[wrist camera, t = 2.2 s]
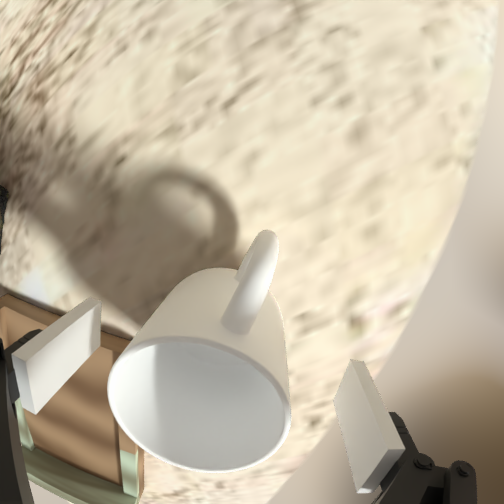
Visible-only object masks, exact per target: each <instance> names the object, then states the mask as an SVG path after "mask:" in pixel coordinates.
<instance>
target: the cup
mask: <svg viewBox="0 0 504 504" xmlns="http://www.w3.org/2000/svg"><path fill="white" fill-rule="evenodd" d="M278 251H279V241H278V237H277V235H276V234H275V233H274V232H273V231H271V230H263V231H261V232H260V233H259V234H258V235H257V236H256V238H255V239H254V241H253V243H252V244H251V246H250V248H249V250H248V252H247V254H246V256H245V257H244V259H243V261H242V263H241V265H240V267H239V269H238V270H235V269H230V268H209V269H204V270H201V271H198V272H196V273H193V274H192V275H190V276H188V277H186V278H185V279H183V280H182V281H181V282H180V283H179V284H178V285H176V287H175V288H174V289H173V290H172V291H171V292H170V293H169V294H168V296H167V297H166V298H165V299H164V301H163V302H162V303H161V304H160V306H159V307H158V308H157V309H156V311H155V312H154V313H153V314H152V316H151V317H150V318H149V319H148V321H147V322H146V323H145V324H144V326H143V327H142V328H141V329H140V331H139V332H138V333H137V334H136V336H135V337H134V338H133V339H132V341H131V342H130V343H129V345H128V346H127V347H126V348H125V350H124V351H123V352H122V354H121V355H120V356H119V357H118V359H117V360H116V362H115V363H114V365H113V366H112V369H111V371H110V374H109V377H108V383H107V393H108V400H109V404H110V408H111V410H112V413H113V415H114V417H115V419H116V421H117V422H118V424H119V425H120V427H121V428H122V429H123V431H124V432H125V433H126V434H127V435H128V436H129V438H130V439H131V440H133V441H134V442H135V443H136V444H137V445H138V446H139V447H141V448H142V449H143V450H145V451H146V452H148V453H149V454H151V455H153V456H154V457H156V458H158V459H160V460H162V461H164V462H166V463H169V464H171V465H174V466H177V467H180V468H183V469H187V470H192V471H198V472H206V473H225V472H233V471H238V470H242V469H246V468H249V467H252V466H254V465H256V464H259V463H261V462H262V461H264V460H266V459H267V458H269V457H270V456H271V455H272V454H274V453H275V452H276V451H277V450H278V449H279V447H280V446H281V445H282V443H283V442H284V441H285V439H286V437H287V435H288V432H289V429H290V425H291V404H290V392H289V379H288V367H287V356H286V344H285V333H284V323H283V318H282V313H281V310H280V307H279V305H278V303H277V301H276V299H275V297H274V296H273V294H272V293H271V292H270V290H269V287H270V284H271V281H272V278H273V274H274V271H275V267H276V263H277V258H278Z"/></svg>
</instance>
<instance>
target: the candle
mask: <svg viewBox="0 0 504 504" xmlns="http://www.w3.org/2000/svg"><path fill="white" fill-rule="evenodd" d="M7 200H8V191H7V189H5V188H4V187H2V186H1V185H0V254H1V239H2V229H3V224H4V213H5V209H6V203H7Z"/></svg>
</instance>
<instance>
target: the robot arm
mask: <svg viewBox="0 0 504 504" xmlns="http://www.w3.org/2000/svg"><path fill="white" fill-rule="evenodd" d="M101 305H102V301H100V300H97V299H94V298H91V297H89V298H88V299H86V300H85V301H83V302H82V303H80V304H79V305H78V306H76V307H75V308H73V309H72V310H71V311H69V312H68V313H66V314H65V315H64V316H62V317H61V318H59V319H58V320H57V321H55V322H54V323H52V324H51V325H50V326H48V327H47V328H46V329H44V330H41V329H36V330H33V331H30V332H28V333H27V334H25V335H24V336H23V338H22V337H21V338H20V339H18V341H16V342H14V343H13V344H11V345H10V346H9V347H7V348H6V349H5V350H4V346H3V341H2V339H1V338H0V504H34V501H33V496H32V493H31V489H30V485H29V481H28V476H27V472H26V467H25V462H24V457H23V452H22V446H21V440H20V434H19V426H18V419H17V410H16V405H15V401H16V400H17V399H18V398H19V397H20V400H21V404H22V407H23V408H24V409H26V410H28V411H30V412H32V413H33V414H35V415H36V414H37V413H38V412H39V411H40V410H41V409H42V408H43V406H44V405H45V404H46V403H47V402H48V401H49V400H50V399H51V398H52V396H53V395H54V394H55V393H56V392H57V391H58V390H59V389H60V388H61V387H62V386H63V385H64V383H65V382H66V381H67V380H68V379H69V378H70V377H71V376H72V375H73V374H74V373H75V372H76V371H77V369H78V368H79V367H80V366H81V365H82V364H83V363H84V362H85V361H86V360H87V359H88V358H89V357H90V356H91V355H92V354H93V353H94V352H95V351H96V349H97V348H98V347H99V346H100V331H101ZM333 402H334V406H335V410H336V413H337V417H338V421H339V424H340V428H341V432H342V436H343V440H344V444H345V448H346V452H347V455H348V460H349V464H350V468H351V472H352V476H353V480H354V484H355V488H356V492H357V493H373V492H374V491H375V490H376V488H377V487H378V486H379V485H381V488H382V492H381V493H380V494H379V495H378V497H377V498H376V499H375V501H373V503H372V504H477V487H476V486H477V485H476V473H475V469H474V468H473V467H472V466H471V465H470V464H469V463H467V462H465V461H459V460H458V461H455V462H454V463H452V465H451V466H450V467H449V468H444V467H438V466H435V464H434V462H433V460H432V459H431V458H430V457H428V456H427V455H425V454H422V453H419V452H418V450H417V448H416V446H415V444H414V442H413V440H412V438H411V436H410V434H409V432H408V430H407V428H406V426H405V424H404V422H403V420H402V419H401V418H400V417H399V416H398V415H397V414H396V413H395V412H388V411H387V408H386V406H385V404H384V402H383V400H382V398H381V396H380V393H379V391H378V389H377V387H376V385H375V383H374V381H373V379H372V377H371V375H370V373H369V371H368V369H367V367H366V365H365V363H364V361H358V360H351V359H350V362H349V364H348V367H347V369H346V372H345V374H344V377H343V379H342V381H341V384H340V386H339V388H338V391H337V393H336V395H335V397H334V400H333Z"/></svg>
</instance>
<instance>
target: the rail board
mask: <svg viewBox="0 0 504 504" xmlns="http://www.w3.org/2000/svg"><path fill="white" fill-rule="evenodd" d="M59 318H61V316H59V315H56V314H54V313H51V312H49V311H46V310H44V309H41V308H39V307H36V306H34V305H32V304H29V303H27V302H25V301H22V300H20V299H18V298H16V297H13V296H11V295H9V294H6V295H4V296H3V297H1V298H0V338H1V339H2V341H3V346H4V350H5V349H6V348H7V347H9V346H10V345H11V344H13V343H14V342H16V341H18V339H20V338H21V337H22V338H23V336H24V335H25V334H27V333H28V332H30V331H33V330H36V329H41V330H44V329H46V328H47V327H48V326H50V325H51V324H52V323H54V322H55V321H57V320H58V319H59ZM130 342H131V341H130V340H126V339H123V338H120V337H117V336H114V335H111V334H108V333H105V332H102V331H100V346H99V347H98V348H97V349H96V351H95V352H94V353H93V354H92V355H91V356H90V357H89V358H88V359H87V360H86V361H85V362H84V363H83V364H82V365H81V366H80V367H79V368H78V369H77V371H76V372H75V373H74V374H73V375H72V376H71V377H70V378H69V379H68V380H67V381H66V382H65V383H64V385H63V386H62V387H61V388H60V389H59V390H58V391H57V392H56V393H55V394H54V395H53V396H52V398H51V399H50V400H49V401H48V402H47V403H46V404H45V405H44V406H43V408H42V409H41V410H40V411H39V412H38V413H37V414H36V415H35V414H33V413H32V412H30V411H28V410H26V409H24V408H23V407H22V404H21V400H20V397H19V398H18V399H17V400H16V401H15V405H16V410H17V419H18V426H19V434H20V440H21V444H22V452H23V457H24V462H25V467H26V472H27V476H28V480H30V481H32V482H34V483H35V484H37V485H39V486H41V487H43V488H44V489H46V490H48V491H50V492H52V493H54V494H56V495H58V496H59V497H61V498H63V499H66V500H68V501H70V502H72V503H74V504H138V503H139V501H140V498H141V495H142V493H143V490H144V450H143V449H142V448H141V447H139V446H138V445H137V444H136V443H135V442H134V441H133V440H131V439H130V438H129V436H128V435H127V434H126V433H125V432H124V431H123V429H122V428H121V427H120V425H119V424H118V422H117V421H116V419H115V417H114V415H113V413H112V410H111V408H110V404H109V400H108V393H107V383H108V377H109V374H110V371H111V369H112V366H113V365H114V363H115V362H116V360H117V359H118V357H119V356H120V355H121V354H122V352H123V351H124V350H125V348H126V347H127V346H128V345H129V343H130Z"/></svg>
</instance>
